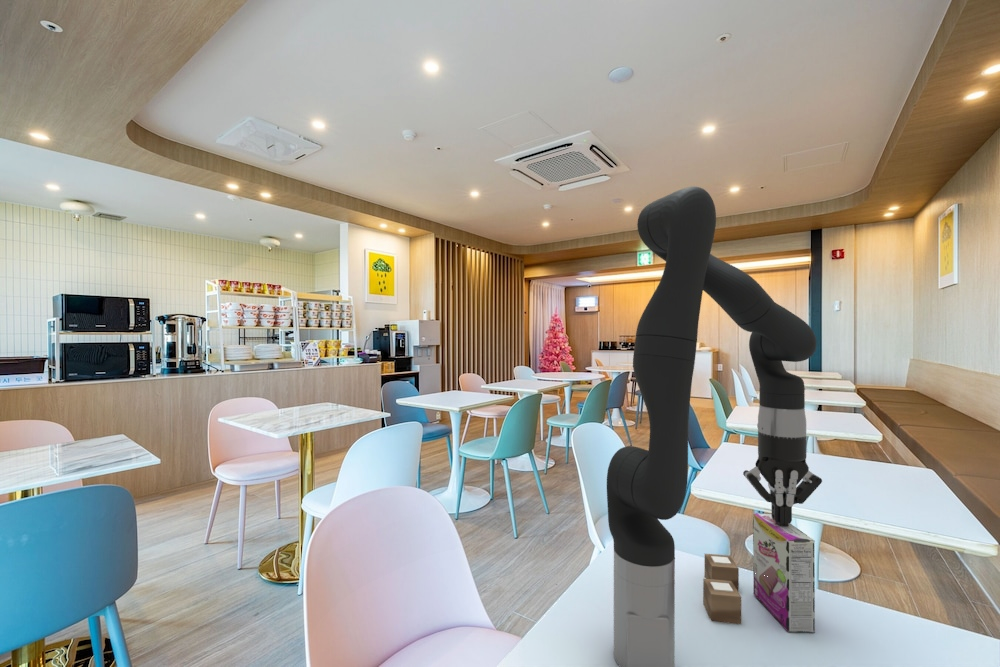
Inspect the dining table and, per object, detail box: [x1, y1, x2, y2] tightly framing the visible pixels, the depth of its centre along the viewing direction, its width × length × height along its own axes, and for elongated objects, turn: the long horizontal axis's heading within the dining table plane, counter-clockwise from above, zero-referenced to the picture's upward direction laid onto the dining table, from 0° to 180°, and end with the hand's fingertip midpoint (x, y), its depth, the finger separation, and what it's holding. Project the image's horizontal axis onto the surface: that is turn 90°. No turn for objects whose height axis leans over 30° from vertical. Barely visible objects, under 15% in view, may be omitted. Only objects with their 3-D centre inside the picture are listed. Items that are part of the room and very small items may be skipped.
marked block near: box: [702, 578, 742, 625], centre depth 81 cm, size 5×5×5 cm
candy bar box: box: [752, 512, 816, 634], centre depth 81 cm, size 11×5×16 cm, turn 179°
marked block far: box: [704, 553, 740, 593], centre depth 90 cm, size 5×5×5 cm
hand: (781, 524), depth 81 cm, fingers closed
